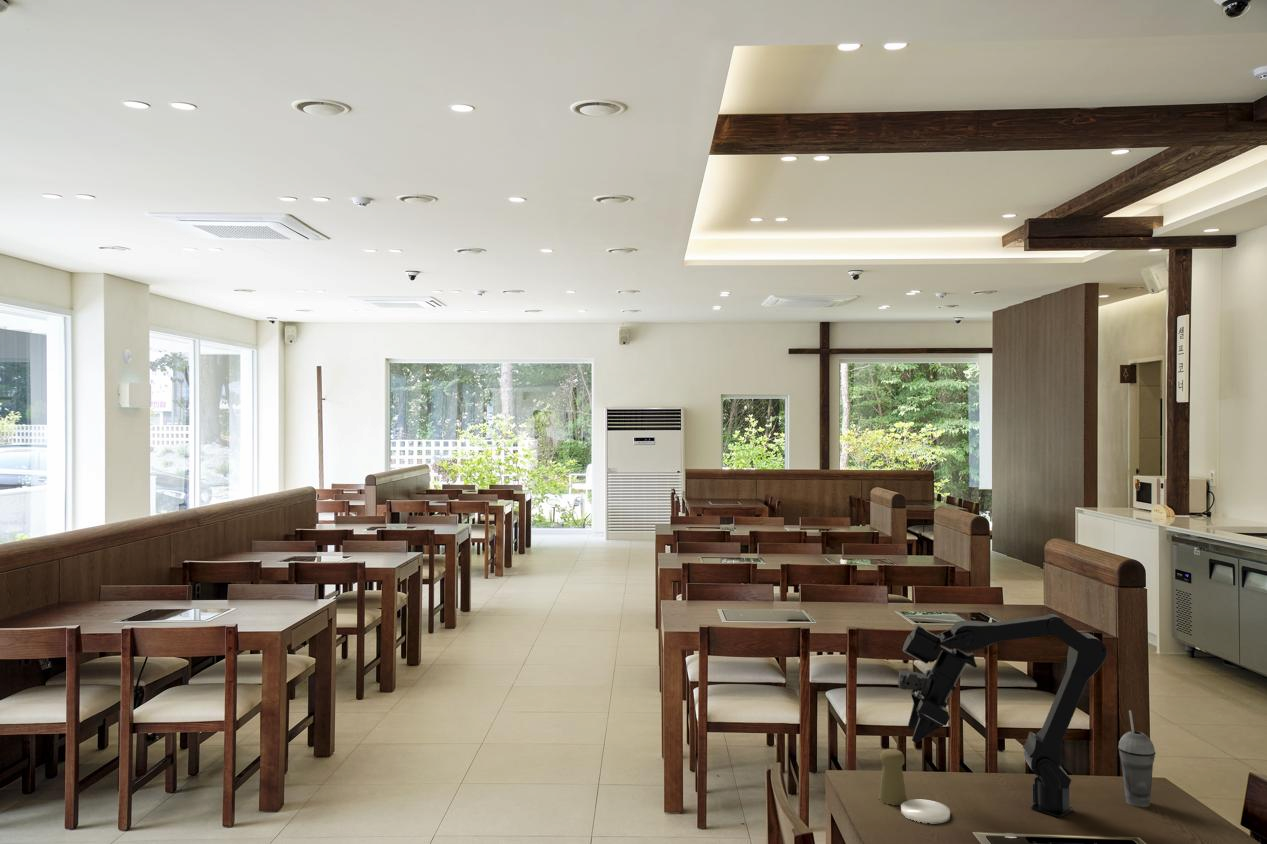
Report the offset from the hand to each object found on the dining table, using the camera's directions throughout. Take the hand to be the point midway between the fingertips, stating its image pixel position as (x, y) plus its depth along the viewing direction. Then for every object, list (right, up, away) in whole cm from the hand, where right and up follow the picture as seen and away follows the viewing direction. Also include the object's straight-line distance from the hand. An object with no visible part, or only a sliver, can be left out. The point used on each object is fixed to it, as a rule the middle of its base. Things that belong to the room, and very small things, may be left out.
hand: (911, 734), depth 203 cm
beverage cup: (+49, -14, -3) cm, 51 cm away
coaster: (+1, -14, -7) cm, 16 cm away
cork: (-4, -15, 0) cm, 15 cm away
